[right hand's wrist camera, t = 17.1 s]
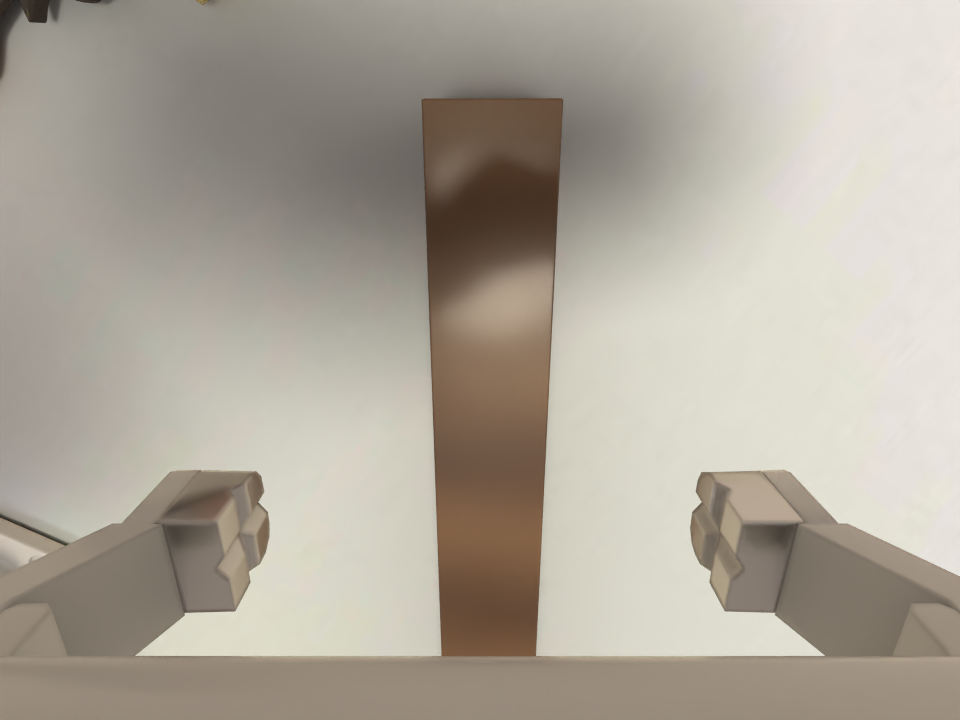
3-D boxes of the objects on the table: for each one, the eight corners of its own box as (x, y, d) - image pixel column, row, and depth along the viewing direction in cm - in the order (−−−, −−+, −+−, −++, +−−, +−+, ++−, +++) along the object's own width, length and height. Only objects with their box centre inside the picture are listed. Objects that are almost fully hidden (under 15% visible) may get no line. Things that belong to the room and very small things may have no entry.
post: (442, 108, 27) (421, 98, 19) (543, 108, 27) (563, 97, 19) (461, 903, 51) (455, 1037, 44) (513, 904, 51) (517, 1039, 44)
